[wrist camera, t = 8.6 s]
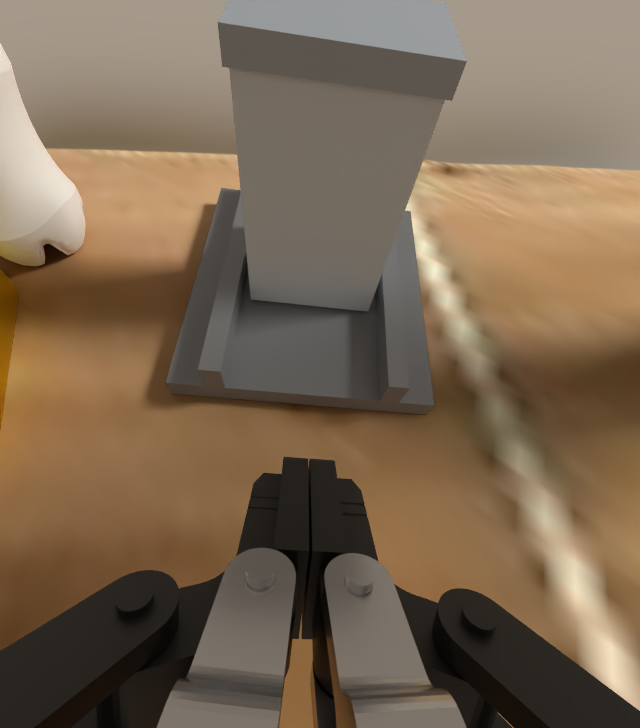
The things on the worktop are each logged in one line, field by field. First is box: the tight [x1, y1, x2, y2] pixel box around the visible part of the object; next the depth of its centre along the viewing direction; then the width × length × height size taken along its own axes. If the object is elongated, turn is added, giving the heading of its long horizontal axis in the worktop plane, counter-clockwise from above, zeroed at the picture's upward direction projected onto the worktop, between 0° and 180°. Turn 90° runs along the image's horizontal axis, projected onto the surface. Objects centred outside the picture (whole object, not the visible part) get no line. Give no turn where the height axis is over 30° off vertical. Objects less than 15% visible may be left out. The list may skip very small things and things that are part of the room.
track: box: [165, 188, 435, 415], centre depth 25 cm, size 16×18×4 cm
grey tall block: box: [218, 0, 467, 312], centre depth 19 cm, size 8×5×14 cm, turn 88°
